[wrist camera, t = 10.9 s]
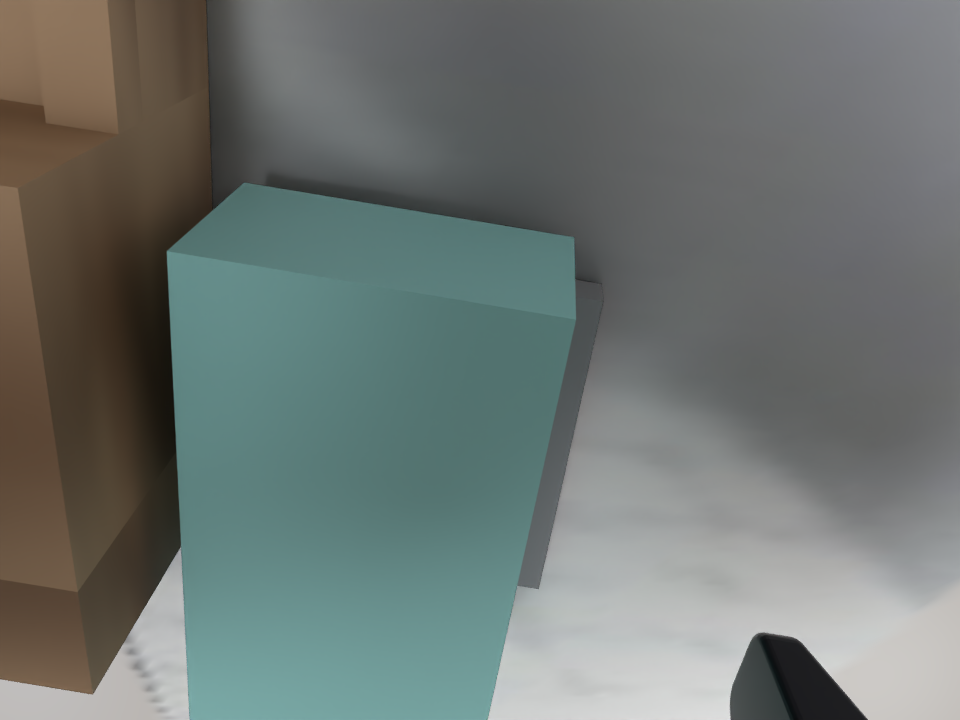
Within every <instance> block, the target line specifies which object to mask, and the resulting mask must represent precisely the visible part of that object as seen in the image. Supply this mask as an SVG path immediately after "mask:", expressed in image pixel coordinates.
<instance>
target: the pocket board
mask: <svg viewBox="0 0 960 720" xmlns="http://www.w3.org/2000/svg"><path fill="white" fill-rule="evenodd" d="M211 211H212V180H211V147H210V113H209V80H208V46H207V13H206V0H0V679H3V680H8V681H14V682H20V683H27V684H32V685H39V686H45V687H51V688H57V689H63V690H69V691H75V692H81V693H87V694H93V693H94V692H95V690H96V688H97V687H98V685H99V683H100V682H101V680H102V678H103V677H104V675H105V673H106V672H107V670H108V668H109V666H110V665H111V663H112V661H113V660H114V658H115V656H116V655H117V653H118V651H119V650H120V648H121V646H122V645H123V643H124V641H125V640H126V638H127V636H128V635H129V633H130V631H131V629H132V628H133V626H134V624H135V623H136V621H137V619H138V618H139V616H140V614H141V613H142V611H143V609H144V608H145V606H146V604H147V603H148V601H149V599H150V597H151V596H152V594H153V592H154V591H155V589H156V587H157V586H158V584H159V582H160V581H161V579H162V577H163V576H164V574H165V572H166V571H167V569H168V567H169V565H170V564H171V562H172V560H173V559H174V557H175V555H176V554H177V552H178V550H179V549H180V547H181V533H180V512H179V492H178V471H177V451H176V431H175V410H174V390H173V369H172V349H171V329H170V308H169V288H168V267H167V250H169V249H170V248H171V247H172V246H173V245H174V244H175V243H176V242H178V241H179V240H180V239H181V238H182V237H183V236H184V235H185V234H187V233H188V232H189V231H190V230H191V229H192V228H193V227H194V226H196V225H197V224H198V223H199V222H200V221H201V220H202V219H204V218H205V217H206V216H207V215H208V214H209V213H210V212H211Z"/></svg>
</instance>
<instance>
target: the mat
mask: <svg viewBox="0 0 960 720" xmlns="http://www.w3.org/2000/svg"><path fill="white" fill-rule="evenodd" d="M575 293H576V322H575V327H574V331H573V336H572V340H571V345H570V349H569V354H568V358H567V363H566V367H565V372H564V376H563V381H562V385H561V390H560V394H559V399H558V403H557V408H556V413H555V417H554V422H553V426H552V431H551V435H550V440H549V444H548V449H547V453H546V458H545V462H544V467H543V471H542V476H541V480H540V485H539V489H538V494H537V498H536V503H535V507H534V512H533V516H532V521H531V525H530V530H529V534H528V539H527V544H526V548H525V553H524V557H523V562H522V566H521V571H520V575H519V580H518V584H517V586H524V587H530V588H536V589H539V585H540V581H541V576H542V572H543V567H544V563H545V558H546V554H547V550H548V545H549V541H550V536H551V532H552V527H553V523H554V518H555V514H556V510H557V505H558V501H559V496H560V492H561V487H562V483H563V478H564V474H565V470H566V465H567V461H568V456H569V452H570V447H571V443H572V438H573V434H574V430H575V425H576V421H577V416H578V412H579V407H580V403H581V398H582V394H583V390H584V385H585V381H586V376H587V372H588V367H589V363H590V358H591V354H592V350H593V345H594V341H595V336H596V332H597V327H598V323H599V318H600V314H601V310H602V305H603V292H602V284H599V283H593V282H586V281H580V280H575Z"/></svg>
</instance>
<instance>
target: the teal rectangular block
mask: <svg viewBox="0 0 960 720" xmlns="http://www.w3.org/2000/svg"><path fill="white" fill-rule="evenodd" d="M167 267H168V288H169V308H170V329H171V349H172V369H173V390H174V410H175V431H176V451H177V471H178V492H179V512H180V533H181V553H182V573H183V594H184V614H185V635H186V655H187V675H188V696H189V716H190V720H488V715H489V711H490V706H491V702H492V697H493V693H494V688H495V684H496V679H497V675H498V670H499V666H500V661H501V656H502V652H503V647H504V643H505V638H506V634H507V629H508V625H509V620H510V616H511V611H512V607H513V602H514V598H515V593H516V589H517V584H518V580H519V575H520V571H521V566H522V562H523V557H524V553H525V548H526V544H527V539H528V534H529V530H530V525H531V521H532V516H533V512H534V507H535V503H536V498H537V494H538V489H539V485H540V480H541V476H542V471H543V467H544V462H545V458H546V453H547V449H548V444H549V440H550V435H551V431H552V426H553V422H554V417H555V413H556V408H557V403H558V399H559V394H560V390H561V385H562V381H563V376H564V372H565V367H566V363H567V358H568V354H569V349H570V345H571V340H572V336H573V331H574V327H575V322H576V293H575V248H574V237H569V236H563V235H557V234H551V233H545V232H539V231H533V230H527V229H521V228H515V227H509V226H503V225H497V224H491V223H485V222H479V221H473V220H467V219H461V218H455V217H449V216H443V215H437V214H431V213H425V212H419V211H413V210H407V209H401V208H395V207H389V206H383V205H377V204H371V203H365V202H359V201H353V200H347V199H341V198H335V197H329V196H323V195H317V194H311V193H305V192H299V191H292V190H286V189H280V188H274V187H268V186H262V185H256V184H250V183H243V184H242V185H241V186H240V187H239V188H237V189H236V190H235V191H234V192H233V193H232V194H231V195H229V196H228V197H227V198H226V199H225V200H224V201H223V202H222V203H220V204H219V205H218V206H217V207H216V208H215V209H214V210H213V211H211V212H210V213H209V214H208V215H207V216H206V217H205V218H204V219H202V220H201V221H200V222H199V223H198V224H197V225H196V226H194V227H193V228H192V229H191V230H190V231H189V232H188V233H187V234H185V235H184V236H183V237H182V238H181V239H180V240H179V241H178V242H176V243H175V244H174V245H173V246H172V247H171V248H170V249H169V250H167Z"/></svg>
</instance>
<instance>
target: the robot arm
mask: <svg viewBox="0 0 960 720" xmlns="http://www.w3.org/2000/svg"><path fill="white" fill-rule="evenodd" d="M730 716H731V720H868V719H867V718H866V717H865V716H864V714H863V713H862V712H861V711H860V710H859V709H858V708H857V707H856V705H855V704H854V703H853V702H852V701H851V699H850V698H849V697H848V696H847V695H846V694H845V692H843V690H842V689H841V688H840V687H839V685H838V684H837V683H836V682H835V681H834V680H833V678H832V677H831V676H830V675H829V674H828V673H827V672H826V670H825V669H824V668H823V667H822V666H821V665H820V663H819V662H818V661H817V660H816V659H815V658H814V656H813V655H812V654H811V653H810V652H809V651H808V649H807V648H806V647H805V646H804V645H803V644H802V643H801V642H800V641H798V640H797V639H795V638H793V637H788V636H782V635H776V634H770V633H758V634H756V635H755V636H754V637H753V638H752V640H751V642H750V644H749V646H748V649H747V651H746V654H745V656H744V658H743V661H742V663H741V666H740V668H739V671H738V673H737V675H736V678H735V680H734V683H733V686H732V690H731V696H730Z"/></svg>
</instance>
